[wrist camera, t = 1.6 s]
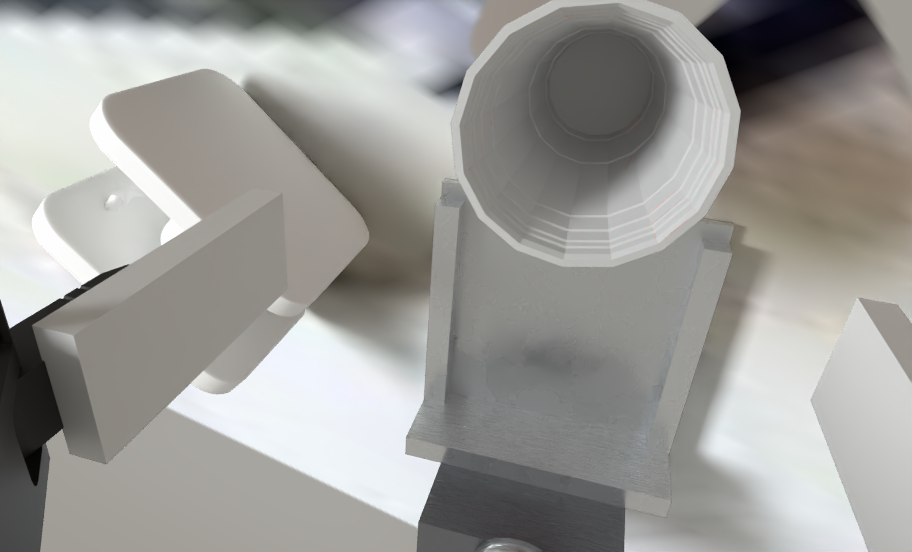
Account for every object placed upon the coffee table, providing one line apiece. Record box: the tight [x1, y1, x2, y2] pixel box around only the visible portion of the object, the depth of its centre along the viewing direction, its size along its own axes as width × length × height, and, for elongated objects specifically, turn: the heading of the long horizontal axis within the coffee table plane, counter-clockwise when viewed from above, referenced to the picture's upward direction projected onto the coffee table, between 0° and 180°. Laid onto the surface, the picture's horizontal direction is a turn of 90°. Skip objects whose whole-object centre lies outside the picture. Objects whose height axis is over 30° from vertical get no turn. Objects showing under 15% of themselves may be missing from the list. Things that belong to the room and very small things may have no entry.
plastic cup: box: [451, 0, 741, 267], centre depth 29 cm, size 11×11×12 cm
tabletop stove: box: [405, 178, 734, 552], centre depth 37 cm, size 22×17×12 cm
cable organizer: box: [32, 69, 369, 394], centre depth 38 cm, size 15×11×12 cm
